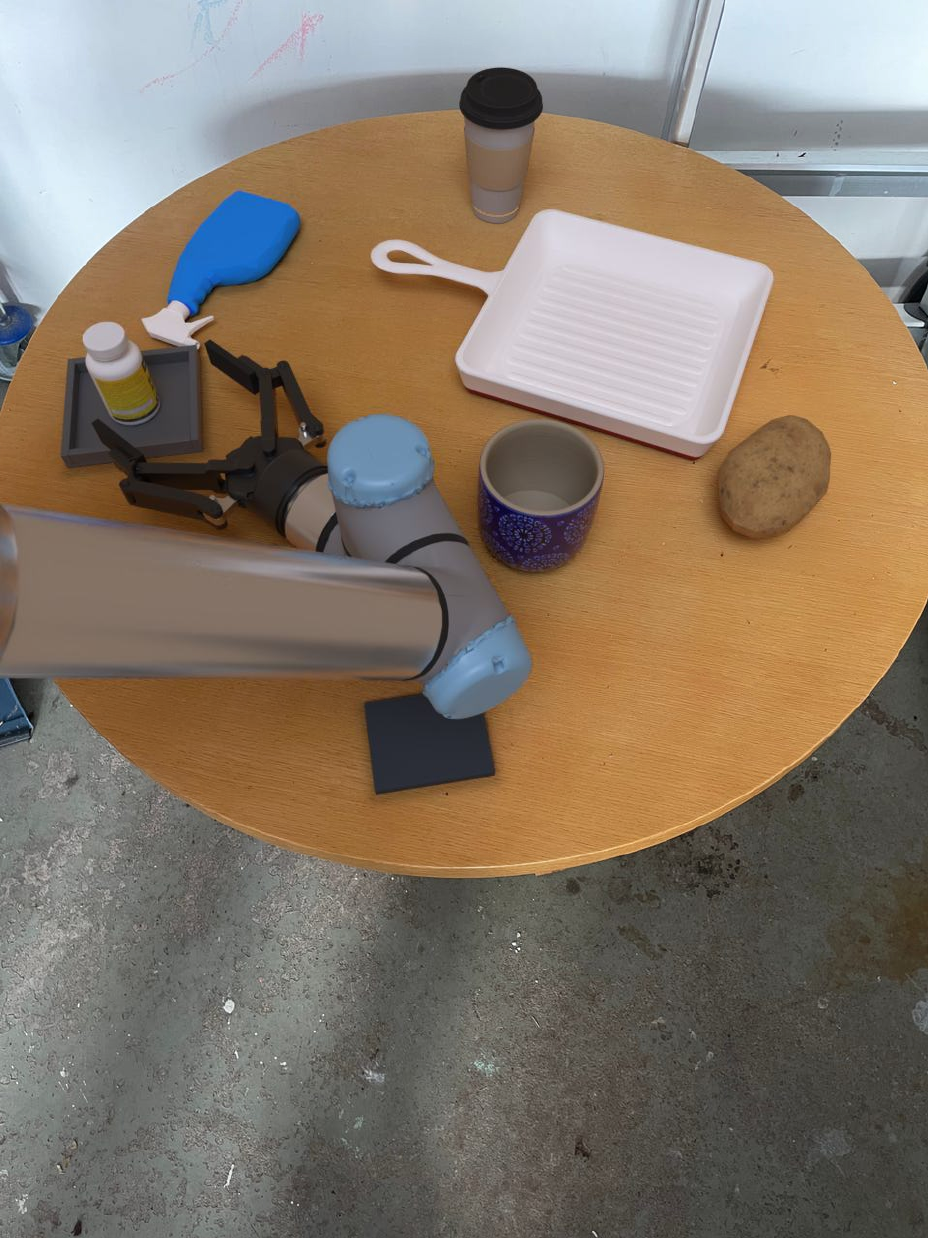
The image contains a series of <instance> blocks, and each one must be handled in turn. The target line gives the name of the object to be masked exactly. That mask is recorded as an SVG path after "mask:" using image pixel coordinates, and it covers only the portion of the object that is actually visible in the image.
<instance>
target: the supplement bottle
mask: <svg viewBox="0 0 928 1238" xmlns="http://www.w3.org/2000/svg"><path fill="white" fill-rule="evenodd" d="M82 343H83V345H84V348H85V350H86V352H87V353H86V355H85V357H86V360H85V362H86V367H87V369H88V372H89V374H90V376H91V378H92V380H93V382H94V384H95V386H96V388H97V390H98V392H99V394H100V396H101V398H102V400H103V403H104V405H105V407H106V409H107V411H108V413H109V415H110V416H111V418H112V419H113V420H115V421H116V422H118V423H120V424H123V425H138V424H142V423H144V422H147V421H148V420H150V419H151V418H152V417H154V416H155V414H156V413H157V412H158V410H159V407H160V399H159V396H158V393H157V390H156V388H155V386H154V383H153V381H152V379H151V376H150V374H149V371H148V369H147V366H146V364H145V361H144V359H143V356H142V354H141V352H140V351H141V350H140V347H139V346H138V345H137V344H136V343H135V342H133V341H132V340H130V339H129V338H128V336H127V333H126V331H125V330H124V328H123V326H122V325H120V324H119V323H117V322H114V321H101V322H97V323H95V324H92V325H91V326H89V327H88V328H87V329H86V330H85V331H84V333H83V335H82Z"/></svg>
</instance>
